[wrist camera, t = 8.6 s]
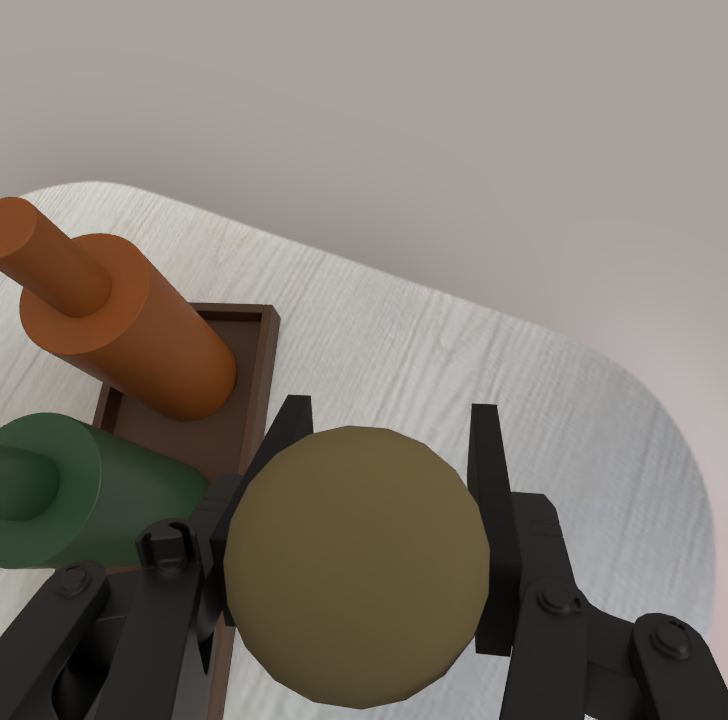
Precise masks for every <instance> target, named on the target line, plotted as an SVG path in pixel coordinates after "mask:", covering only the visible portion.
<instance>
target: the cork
mask: <svg viewBox="0 0 728 720" xmlns="http://www.w3.org/2000/svg"><path fill="white" fill-rule="evenodd" d="M489 560H490V547H489V543H488V540H487V536H486V533H485V529H484V525H483V522H482V518H481V515H480V511H479V507H478V505H477V503H476V502H475V500H474V498H473V497H472V495H471V494H470V492H469V491H468V489H467V488H466V486H465V484H464V483H463V481H462V480H461V478H460V477H459V475H458V473H457V472H456V470H455V469H454V468H452V467H451V466H450V465H449V464H448V463H447V462H445V461H444V460H443V459H442V458H441V457H439V456H438V455H437V454H436V453H435V452H433V451H432V450H431V449H430V448H429V447H428V446H426V445H425V444H424V443H421V442H419V441H417V440H414V439H412V438H409V437H407V436H404V435H402V434H400V433H397V432H395V431H392V430H390V429H385V428H373V427H360V426H344V427H339V428H335V429H331V430H327V431H322V432H318V433H314V434H309V435H308V436H306V437H304V438H303V439H301V440H299V441H298V442H296V443H294V444H292V445H291V446H289V447H287V448H286V449H284V450H282V451H281V452H279V453H277V454H276V455H275V456H274V457H273V458H272V459H271V460H270V461H269V462H268V464H267V465H266V466H265V467H264V468H263V469H262V470H261V471H260V472H259V473H258V474H257V475H256V476H255V478H254V479H253V480H252V481H251V482H250V483H249V485H248V487H247V489H246V491H245V493H244V495H243V497H242V499H241V501H240V503H239V505H238V507H237V509H236V511H235V513H234V515H233V517H232V519H231V522H230V528H229V533H228V539H227V544H226V550H225V555H224V561H223V565H224V574H225V584H226V593H227V603H228V607H229V610H230V612H231V614H232V617H233V619H234V621H235V624H236V626H237V628H238V631H239V633H240V635H241V638H242V640H243V643H244V645H245V647H246V648H247V649H248V650H249V651H250V653H251V654H252V655H253V656H254V657H255V658H256V659H257V661H258V662H259V663H260V664H261V665H262V666H263V667H264V669H265V670H266V671H267V672H268V673H269V674H270V675H271V677H272V678H273V679H274V680H275V681H277V682H279V683H281V684H282V685H284V686H286V687H288V688H289V689H291V690H293V691H295V692H297V693H298V694H300V695H302V696H304V697H305V698H307V699H309V700H311V701H313V702H316V703H322V704H329V705H335V706H342V707H348V708H355V709H361V710H362V709H367V708H371V707H376V706H381V705H385V704H390V703H395V702H399V701H404V700H407V699H408V698H410V697H411V696H413V695H415V694H416V693H418V692H419V691H421V690H422V689H424V688H425V687H427V686H429V685H430V684H432V683H433V682H435V681H436V680H438V679H439V678H441V677H443V676H444V675H445V674H446V673H447V671H448V670H449V669H450V668H451V666H452V665H453V664H454V662H455V661H456V660H457V659H458V657H459V656H460V655H461V653H462V652H463V651H464V649H465V648H466V647H467V646H468V644H469V643H470V642H471V640H472V639H473V637H474V634H475V632H476V629H477V626H478V623H479V620H480V617H481V614H482V611H483V609H484V606H485V603H486V600H487V597H488V594H489Z"/></svg>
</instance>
